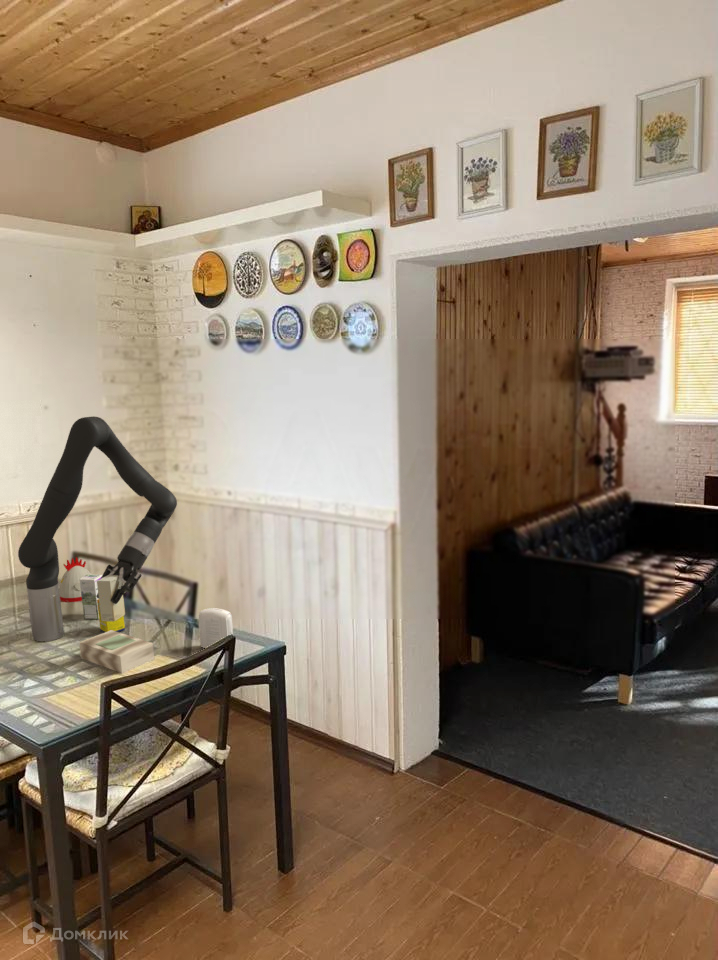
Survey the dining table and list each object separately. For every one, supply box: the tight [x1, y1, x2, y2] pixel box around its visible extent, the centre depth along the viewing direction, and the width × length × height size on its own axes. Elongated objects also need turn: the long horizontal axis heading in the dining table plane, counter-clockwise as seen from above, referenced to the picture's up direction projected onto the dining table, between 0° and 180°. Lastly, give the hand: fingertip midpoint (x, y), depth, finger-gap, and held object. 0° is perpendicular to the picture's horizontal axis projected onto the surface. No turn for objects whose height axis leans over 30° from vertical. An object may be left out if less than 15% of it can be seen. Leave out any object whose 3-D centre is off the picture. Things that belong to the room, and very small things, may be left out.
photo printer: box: [198, 607, 234, 649], centre depth 216 cm, size 10×4×12 cm, turn 72°
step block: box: [78, 630, 155, 674], centre depth 212 cm, size 20×11×5 cm, turn 53°
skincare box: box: [97, 575, 126, 621], centre depth 209 cm, size 6×4×12 cm
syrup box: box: [80, 574, 103, 620], centre depth 248 cm, size 6×6×14 cm
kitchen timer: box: [59, 556, 92, 603], centre depth 271 cm, size 14×14×15 cm
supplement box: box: [97, 599, 126, 633], centre depth 234 cm, size 6×6×11 cm
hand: (106, 600), depth 208 cm, fingers closed on skincare box, 6 cm apart
